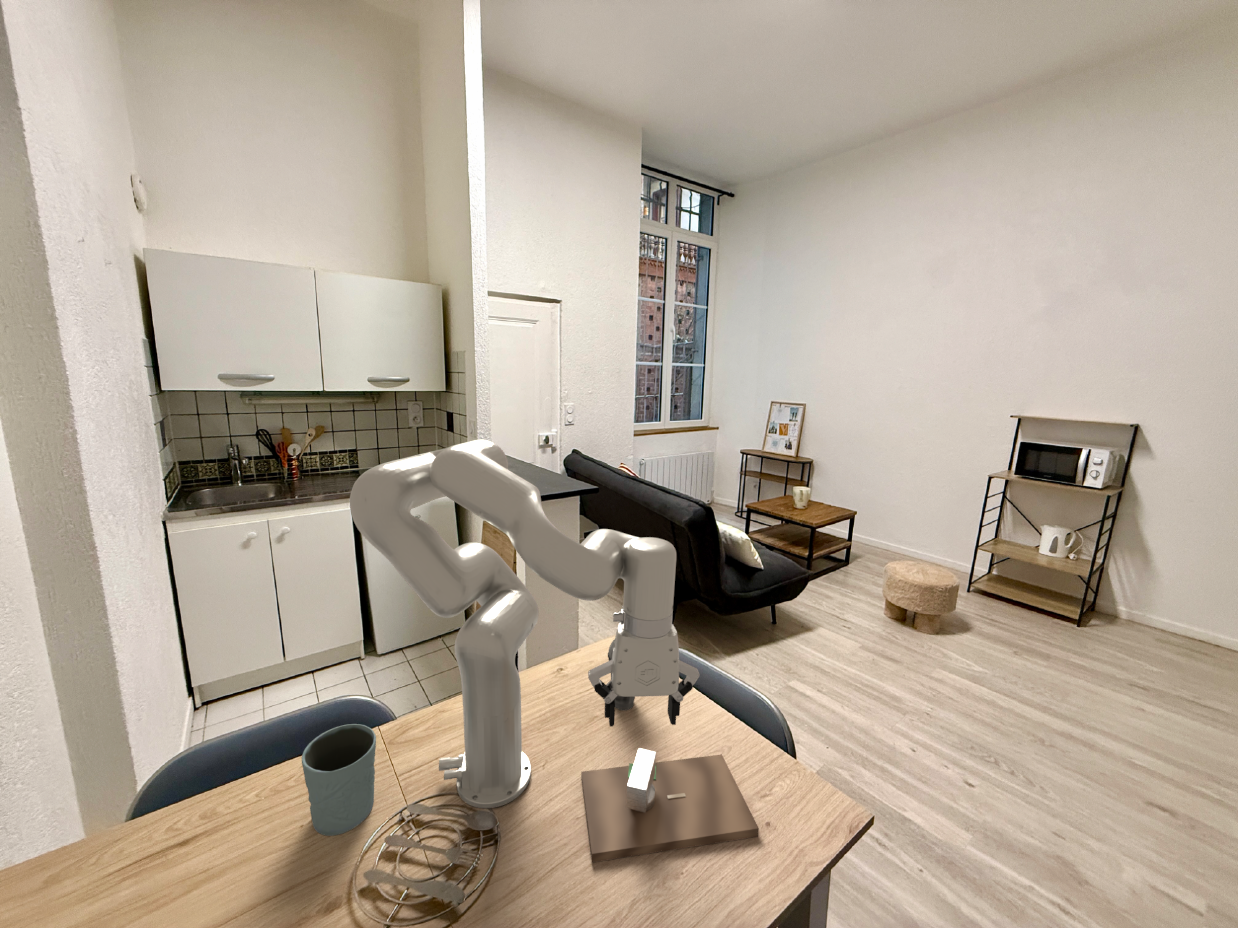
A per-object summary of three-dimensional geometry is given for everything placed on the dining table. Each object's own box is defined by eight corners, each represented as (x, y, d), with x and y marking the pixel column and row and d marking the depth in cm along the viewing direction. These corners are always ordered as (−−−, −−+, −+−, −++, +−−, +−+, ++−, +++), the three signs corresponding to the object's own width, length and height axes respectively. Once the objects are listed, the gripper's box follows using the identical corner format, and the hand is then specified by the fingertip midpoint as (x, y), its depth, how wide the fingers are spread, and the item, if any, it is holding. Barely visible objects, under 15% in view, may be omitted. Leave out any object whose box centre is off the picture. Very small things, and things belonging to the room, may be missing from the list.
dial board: (591, 862, 71) (591, 852, 70) (581, 777, 86) (581, 768, 85) (758, 836, 75) (758, 827, 75) (720, 759, 90) (721, 751, 90)
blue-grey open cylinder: (317, 793, 81) (311, 730, 79) (384, 778, 84) (379, 717, 82) (300, 849, 72) (292, 779, 69) (376, 829, 75) (371, 762, 73)
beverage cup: (641, 693, 108) (643, 610, 105) (639, 716, 101) (642, 628, 98) (608, 691, 109) (610, 608, 105) (604, 713, 102) (606, 625, 98)
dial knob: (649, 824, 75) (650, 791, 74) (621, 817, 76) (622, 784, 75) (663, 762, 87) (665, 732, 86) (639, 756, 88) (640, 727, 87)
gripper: (590, 633, 69) (587, 738, 72) (709, 632, 71) (701, 735, 74) (589, 608, 76) (586, 704, 80) (696, 607, 78) (689, 702, 81)
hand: (641, 719), depth 77 cm, fingers open, 9 cm apart
